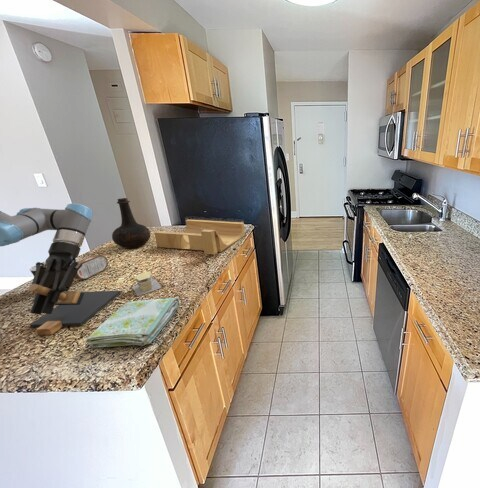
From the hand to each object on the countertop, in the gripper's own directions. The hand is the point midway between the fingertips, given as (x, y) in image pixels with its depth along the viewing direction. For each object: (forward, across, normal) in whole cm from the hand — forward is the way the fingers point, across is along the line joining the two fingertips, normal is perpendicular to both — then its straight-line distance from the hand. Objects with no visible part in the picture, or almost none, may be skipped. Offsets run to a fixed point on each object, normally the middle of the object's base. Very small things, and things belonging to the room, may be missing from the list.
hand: (40, 313), depth 82 cm
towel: (+5, -28, -6) cm, 29 cm away
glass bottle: (-48, +18, -58) cm, 78 cm away
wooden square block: (+5, 0, -5) cm, 7 cm away
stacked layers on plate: (-13, -16, -24) cm, 32 cm away
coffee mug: (-15, +22, -25) cm, 36 cm away
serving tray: (-4, 0, -14) cm, 14 cm away
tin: (-22, +15, -33) cm, 43 cm away
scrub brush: (-6, 0, -8) cm, 10 cm away
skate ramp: (-49, -20, -60) cm, 80 cm away
